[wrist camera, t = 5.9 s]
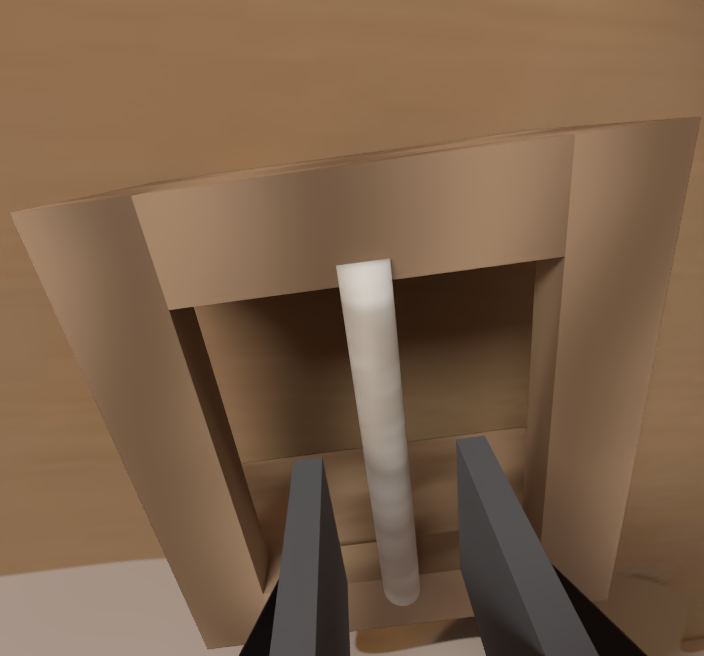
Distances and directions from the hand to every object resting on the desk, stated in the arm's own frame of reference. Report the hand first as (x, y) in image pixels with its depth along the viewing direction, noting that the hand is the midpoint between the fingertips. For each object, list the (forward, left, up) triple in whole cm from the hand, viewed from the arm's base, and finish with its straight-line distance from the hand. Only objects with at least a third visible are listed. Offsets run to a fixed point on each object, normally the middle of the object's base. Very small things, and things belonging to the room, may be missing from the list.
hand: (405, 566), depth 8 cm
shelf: (0, 0, -10) cm, 10 cm away
